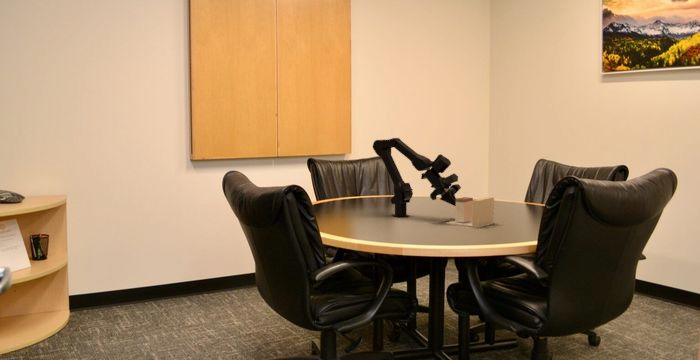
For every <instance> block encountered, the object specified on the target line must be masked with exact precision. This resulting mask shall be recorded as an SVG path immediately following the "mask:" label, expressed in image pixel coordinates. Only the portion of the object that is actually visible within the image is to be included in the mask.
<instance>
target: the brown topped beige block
mask: <svg viewBox="0 0 700 360" xmlns="http://www.w3.org/2000/svg"><path fill="white" fill-rule="evenodd" d="M473 198H474V197H469V196H467V197H466V196H463V197H460V198H456V206H455V222H467V221H471V220H472V215H473V200H474V199H473Z"/></svg>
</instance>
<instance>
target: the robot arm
mask: <svg viewBox="0 0 700 360" xmlns="http://www.w3.org/2000/svg"><path fill="white" fill-rule="evenodd" d="M392 148H394V149H396V150H397V151H398V152H399V153H400V154H402V155H403V156H404V157H405V158H407V159H408V160H409V161H410V162H411V164H412V166H413V167H414V168H415V170H416V171H418V172H422V173H421V178H420V180H427V181H428V182H429V183H430V187H431V188H432V189H433V191H431V193H430V194H429V196H430V198H431V200H432V201H435V200H437V196H440V199H439V200H440V201H442V202H445V203H448V204H450V205H452V206H453V207H456V199H457V198H456V196H455V195H456V194H457V193H458V192H459V191H460V190H461V188H462V187H461V185H460V184H458V183H456V182H458V181H459V176H458V175H457V174H456V173H452V174H450V175H448V176H446V177H444V176H441V174H444V173H445V171H447V169H448V168H449V167H450V166H451V164H452V162H451V160H450V159H449V158H447V157H446V156H444V155H443V154H442V153H441V154H438V155H437V157H436V158H435V159H434V160H433V161H432V160H431V159H430V158H428V157H426V156H425V155H422V154H419V153H417V152H416V151H415V150H414V149H412V148H411V147H410V146H409V145H408V144H406V143H405V142H404V141H403V140H402V139H400V138H399V137H393V138H388V139H376V140H374V141H373V144H372V149H373V150H374V151H373V152H375V154H376V155H377V156H378V157H379V158H381V160H382V162H383V164H384V167H385V169H386V170H387V173H388V175H389V177H390V179H391V182H392V184H393V192H394V195H393V196H392V197H391V199H390V203H391V205H394V213H392V214H391V216H393V217H396V218H403V217H410V215H409V214H407V211H408V210H407V205H408V203H411V199H412V198H413V190H414V189H413V188H412V187H411V183H410V182H405V181H404V180H403V177H402V175H401V172H400V170H399V169H398V167H397V165H396V162H395V159H394V158H393V155H392ZM423 171H425V172H423ZM453 183H456V184H453Z"/></svg>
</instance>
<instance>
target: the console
mask: <svg viewBox="0 0 700 360" xmlns="http://www.w3.org/2000/svg"><path fill="white" fill-rule="evenodd" d="M494 217H495V197H494V196H486V197H481V198H476V199H473V205H472V220H471V221H467V222H455V220H450V221H446V222H445V224H446V225H451V226H459V227H468V228H475V229H477V228H478V229H479V228H483V227H486V226H489V225H493V224H495V222H494V221H495V220H494V219H495V218H494Z"/></svg>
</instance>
